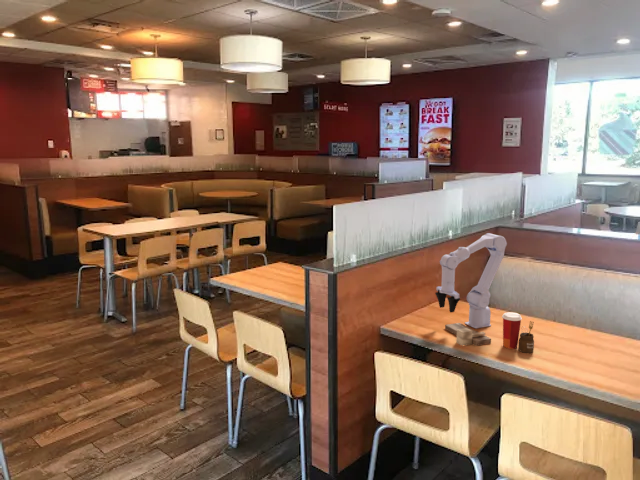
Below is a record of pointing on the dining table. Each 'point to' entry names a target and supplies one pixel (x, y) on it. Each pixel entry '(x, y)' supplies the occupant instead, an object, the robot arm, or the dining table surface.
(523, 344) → the utensil holder
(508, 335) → the paper cup
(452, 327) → the plank
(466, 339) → the wooden mallet
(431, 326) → the dining table surface
